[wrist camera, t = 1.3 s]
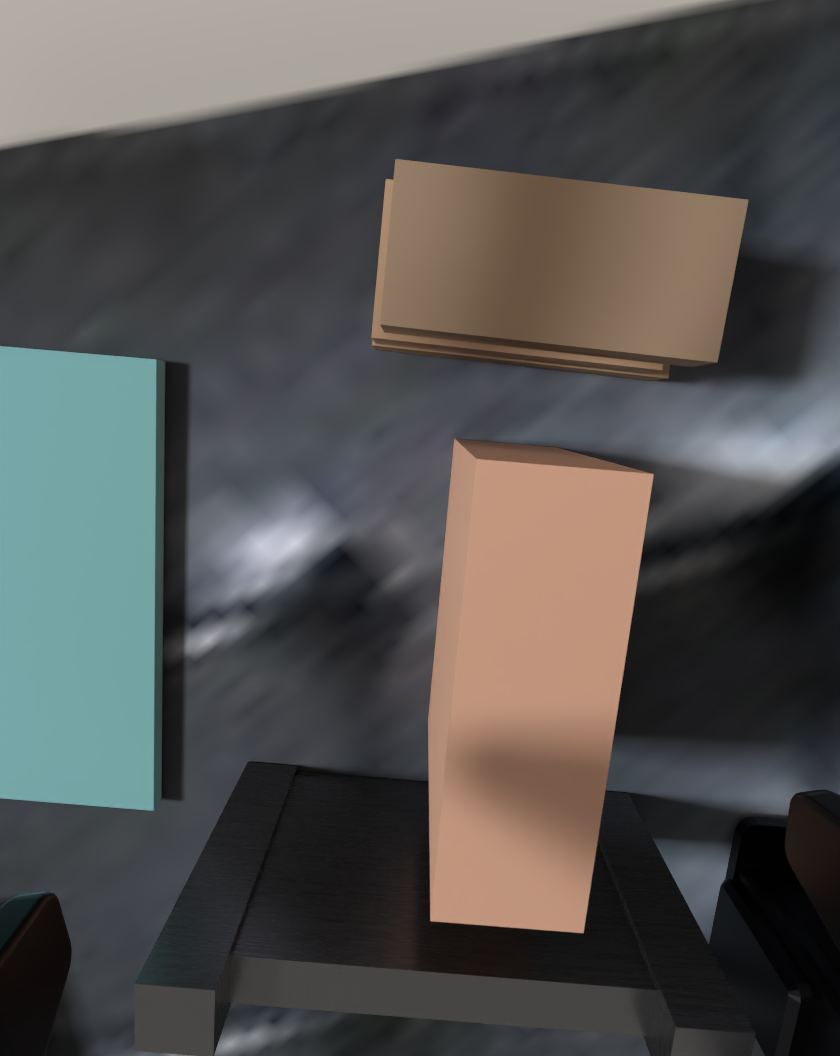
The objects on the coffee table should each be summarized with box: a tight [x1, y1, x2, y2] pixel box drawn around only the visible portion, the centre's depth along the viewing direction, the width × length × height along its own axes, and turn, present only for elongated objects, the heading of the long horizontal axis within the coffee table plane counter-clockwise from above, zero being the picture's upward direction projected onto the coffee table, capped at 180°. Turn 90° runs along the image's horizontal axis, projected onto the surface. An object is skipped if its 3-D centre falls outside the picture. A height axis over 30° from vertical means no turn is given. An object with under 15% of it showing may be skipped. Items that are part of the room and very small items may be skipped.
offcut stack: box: [371, 159, 748, 381], centre depth 16 cm, size 8×4×4 cm, turn 84°
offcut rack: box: [135, 762, 756, 1056], centre depth 17 cm, size 12×2×8 cm, turn 85°
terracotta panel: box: [428, 439, 654, 933], centre depth 15 cm, size 3×9×8 cm, turn 175°
